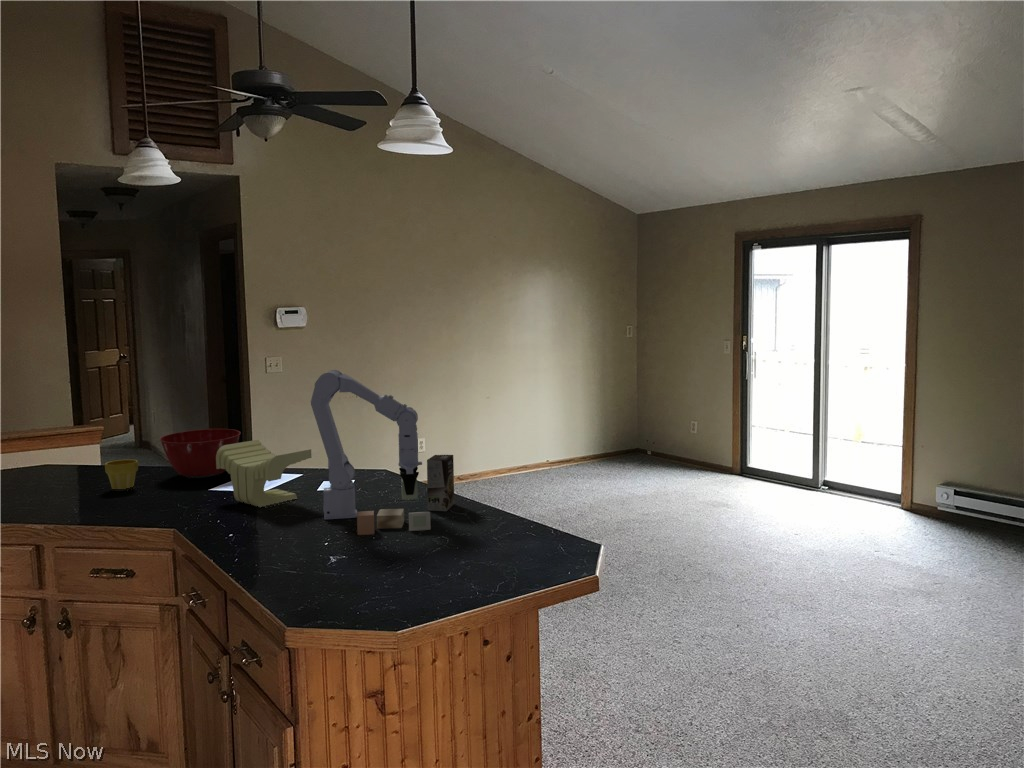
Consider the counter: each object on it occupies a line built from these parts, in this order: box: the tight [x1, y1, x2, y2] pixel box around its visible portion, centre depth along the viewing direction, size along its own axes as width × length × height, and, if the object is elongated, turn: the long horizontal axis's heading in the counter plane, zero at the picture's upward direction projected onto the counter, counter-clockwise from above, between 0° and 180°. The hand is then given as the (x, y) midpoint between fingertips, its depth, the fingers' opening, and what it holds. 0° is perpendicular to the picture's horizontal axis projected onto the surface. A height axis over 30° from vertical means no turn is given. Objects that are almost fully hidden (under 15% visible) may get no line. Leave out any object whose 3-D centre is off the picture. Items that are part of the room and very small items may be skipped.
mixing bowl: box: [159, 428, 241, 477], centre depth 299 cm, size 28×28×15 cm
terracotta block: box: [356, 510, 375, 536], centre depth 223 cm, size 5×5×6 cm
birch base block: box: [376, 508, 405, 529], centre depth 230 cm, size 7×7×4 cm
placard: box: [408, 511, 432, 532], centre depth 224 cm, size 6×1×5 cm, turn 100°
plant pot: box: [104, 459, 139, 490], centre depth 278 cm, size 10×10×10 cm
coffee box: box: [426, 454, 455, 512], centre depth 248 cm, size 9×6×16 cm
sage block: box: [400, 477, 418, 500], centre depth 240 cm, size 5×5×6 cm
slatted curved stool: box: [216, 439, 312, 508], centre depth 258 cm, size 30×16×18 cm, turn 50°
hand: (409, 492), depth 240 cm, fingers closed on sage block, 5 cm apart
